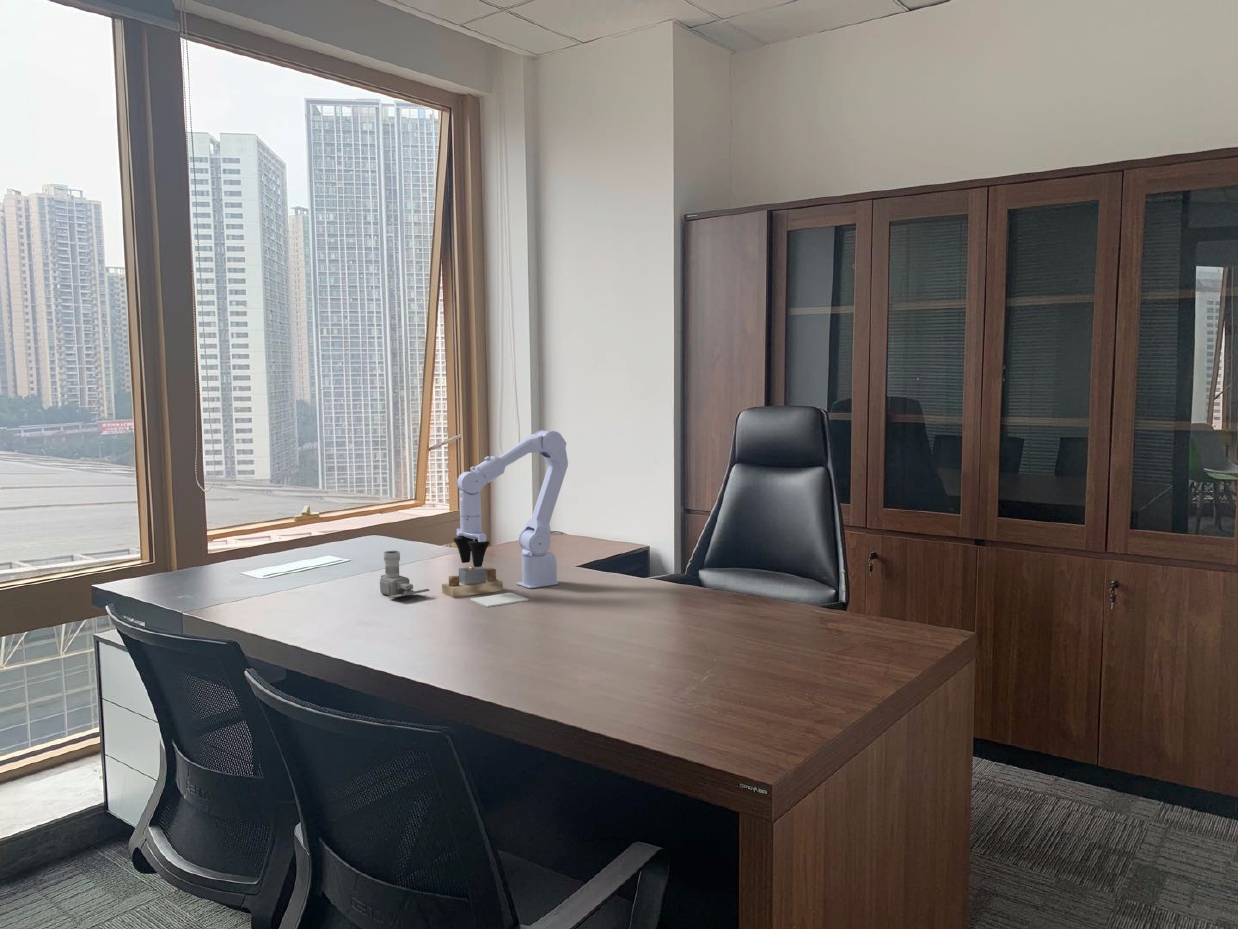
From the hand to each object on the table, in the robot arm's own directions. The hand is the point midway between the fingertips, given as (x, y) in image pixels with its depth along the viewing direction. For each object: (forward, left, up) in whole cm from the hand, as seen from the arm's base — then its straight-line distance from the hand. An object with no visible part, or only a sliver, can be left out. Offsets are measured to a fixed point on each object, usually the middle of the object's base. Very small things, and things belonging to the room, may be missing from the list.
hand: (471, 564), depth 257 cm
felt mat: (-1, +14, -8) cm, 16 cm away
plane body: (0, 0, -8) cm, 8 cm away
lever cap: (0, 0, -5) cm, 5 cm away
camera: (+18, -7, -8) cm, 21 cm away
